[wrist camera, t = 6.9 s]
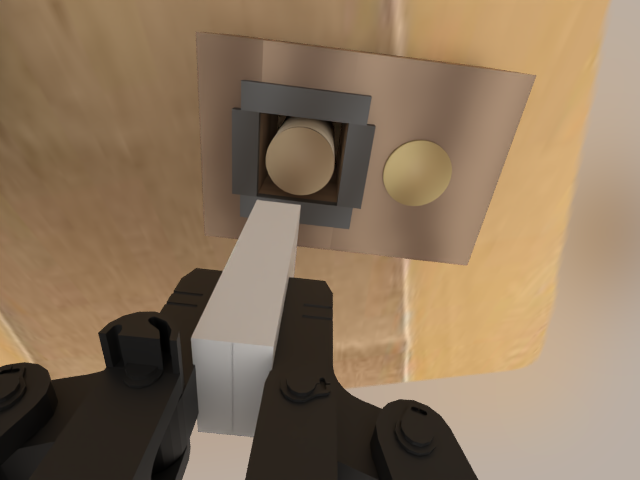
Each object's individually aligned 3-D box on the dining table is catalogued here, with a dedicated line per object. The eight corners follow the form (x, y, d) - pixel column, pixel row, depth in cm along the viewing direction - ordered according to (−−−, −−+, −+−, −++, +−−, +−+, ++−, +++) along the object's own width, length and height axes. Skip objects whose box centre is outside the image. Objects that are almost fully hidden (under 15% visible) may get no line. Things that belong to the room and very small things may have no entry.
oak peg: (281, 155, 29) (264, 191, 22) (284, 102, 27) (267, 123, 20) (330, 161, 29) (329, 198, 22) (337, 109, 27) (338, 132, 20)
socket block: (233, 192, 32) (201, 239, 24) (233, 35, 26) (191, 31, 18) (437, 216, 32) (470, 270, 24) (481, 66, 26) (541, 76, 19)
